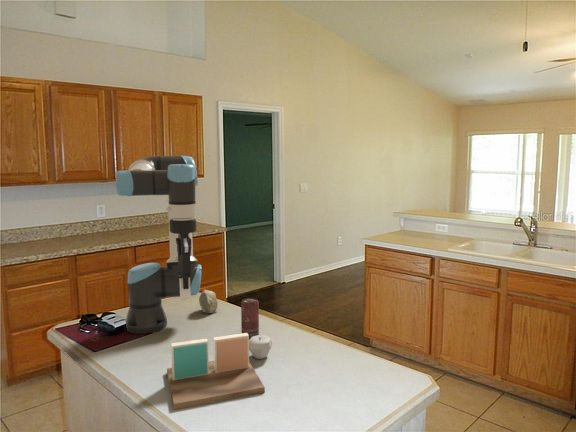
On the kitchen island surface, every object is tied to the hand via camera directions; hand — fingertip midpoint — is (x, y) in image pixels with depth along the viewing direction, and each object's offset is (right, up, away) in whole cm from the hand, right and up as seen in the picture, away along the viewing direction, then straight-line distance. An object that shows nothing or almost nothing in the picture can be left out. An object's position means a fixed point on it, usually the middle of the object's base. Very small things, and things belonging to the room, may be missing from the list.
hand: (185, 297), depth 129 cm
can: (+17, -19, +26) cm, 37 cm away
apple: (+21, -21, +12) cm, 32 cm away
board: (+9, -23, -4) cm, 25 cm away
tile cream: (+14, -21, +1) cm, 25 cm away
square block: (+2, -22, -4) cm, 22 cm away
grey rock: (-3, -15, +53) cm, 55 cm away
